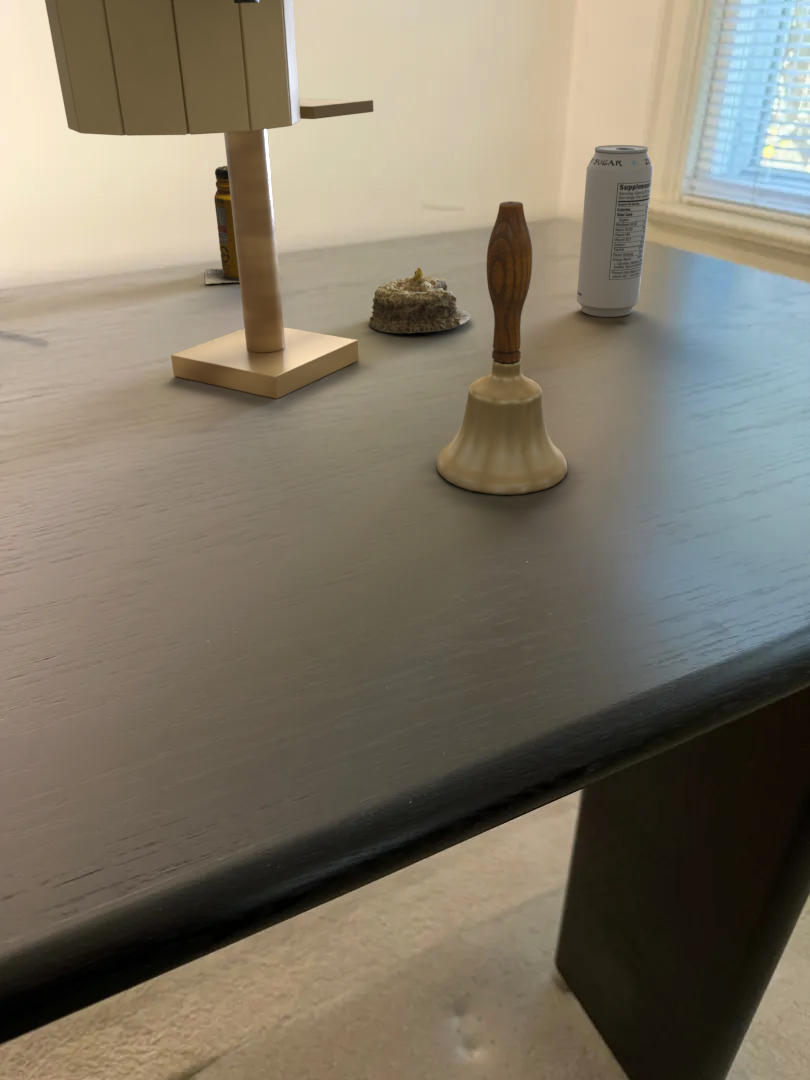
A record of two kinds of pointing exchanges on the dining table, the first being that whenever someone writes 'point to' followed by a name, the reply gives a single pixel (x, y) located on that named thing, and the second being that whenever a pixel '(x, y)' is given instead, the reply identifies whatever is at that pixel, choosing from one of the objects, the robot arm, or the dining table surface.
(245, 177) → the hat stand
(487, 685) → the dining table surface
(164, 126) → the slatted wooden barrel
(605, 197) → the energy drink can
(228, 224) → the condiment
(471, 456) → the hand bell
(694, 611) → the dining table surface
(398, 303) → the cake
